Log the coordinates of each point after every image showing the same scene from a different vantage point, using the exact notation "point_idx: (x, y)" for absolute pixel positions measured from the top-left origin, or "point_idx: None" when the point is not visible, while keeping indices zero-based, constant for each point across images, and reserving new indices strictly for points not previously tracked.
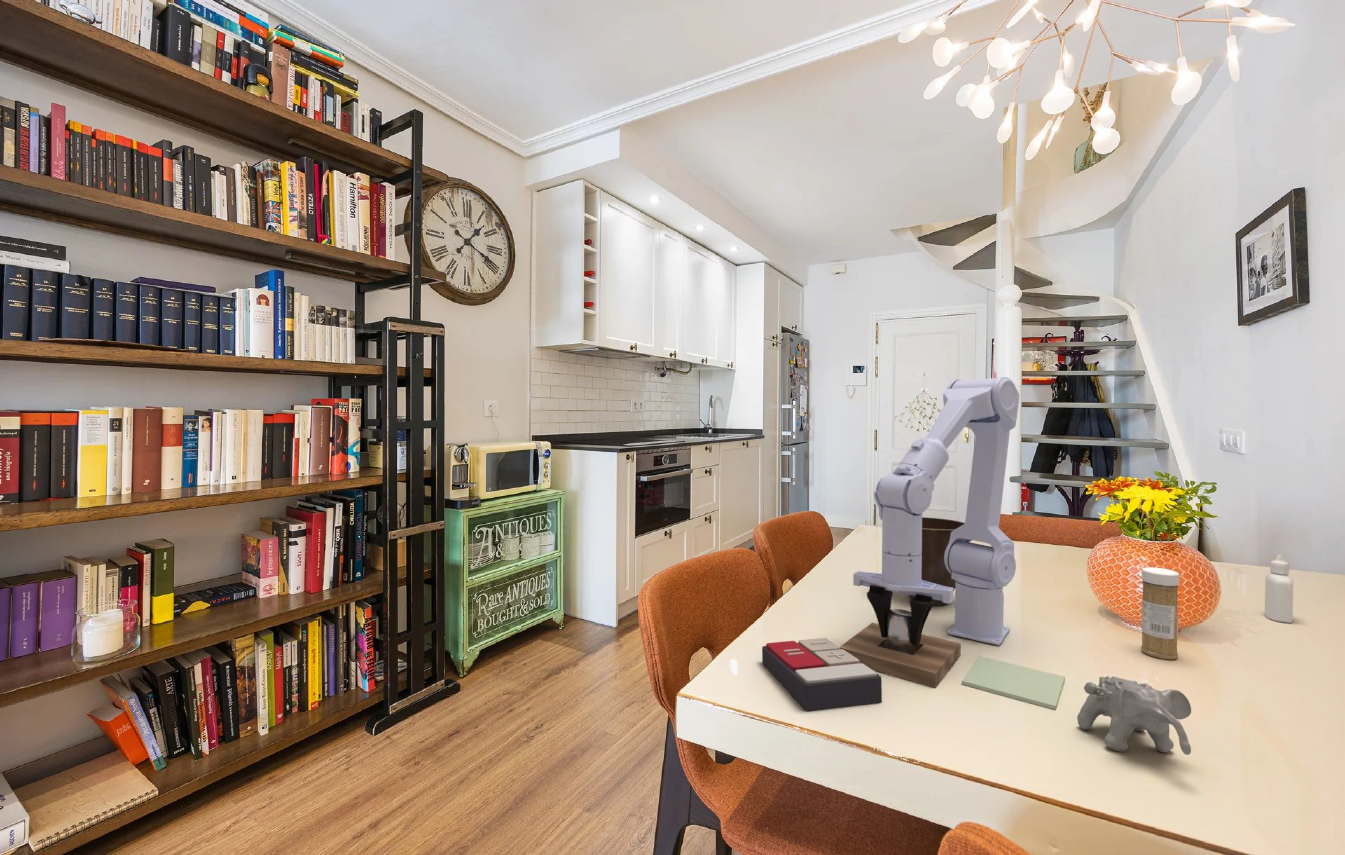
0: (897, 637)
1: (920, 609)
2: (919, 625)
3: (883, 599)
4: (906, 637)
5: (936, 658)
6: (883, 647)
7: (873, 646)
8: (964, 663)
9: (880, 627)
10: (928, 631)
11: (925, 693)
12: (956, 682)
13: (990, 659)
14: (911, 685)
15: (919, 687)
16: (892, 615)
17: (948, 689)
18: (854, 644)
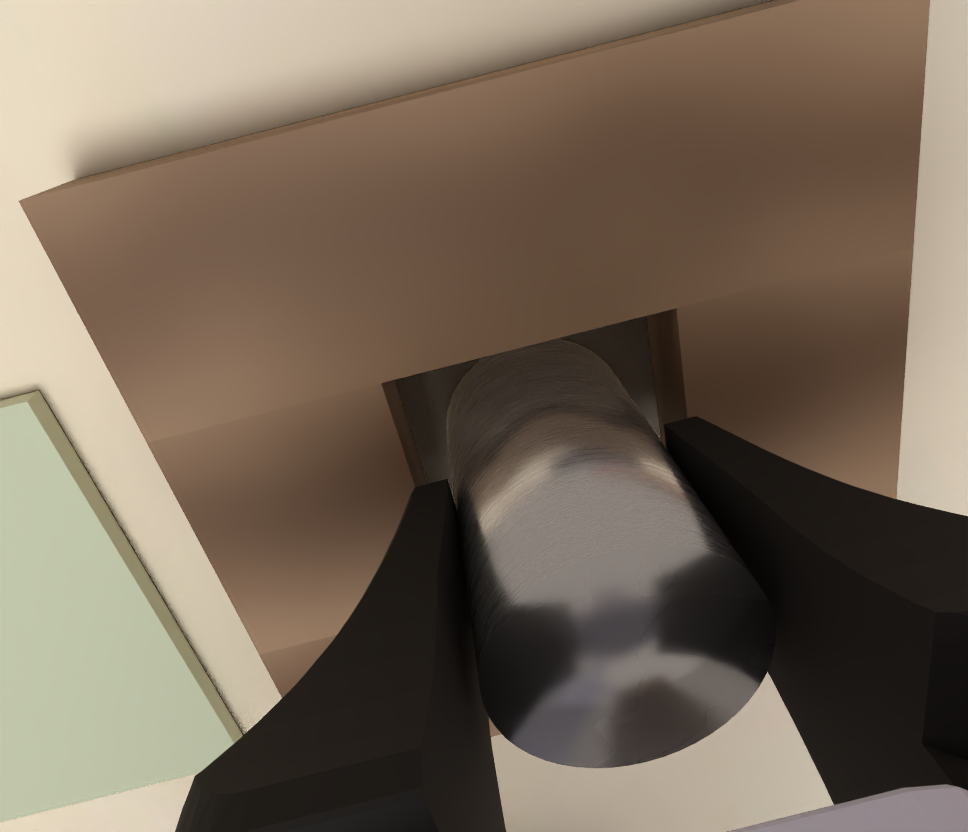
0: (546, 431)
1: (280, 747)
2: (359, 602)
3: (893, 667)
4: (481, 478)
5: (242, 473)
6: (671, 421)
7: (692, 275)
8: (256, 651)
9: (738, 440)
10: (621, 817)
11: (34, 9)
12: (81, 392)
13: (178, 767)
14: (199, 58)
15: (141, 79)
16: (665, 548)
17: (17, 242)
18: (836, 170)
